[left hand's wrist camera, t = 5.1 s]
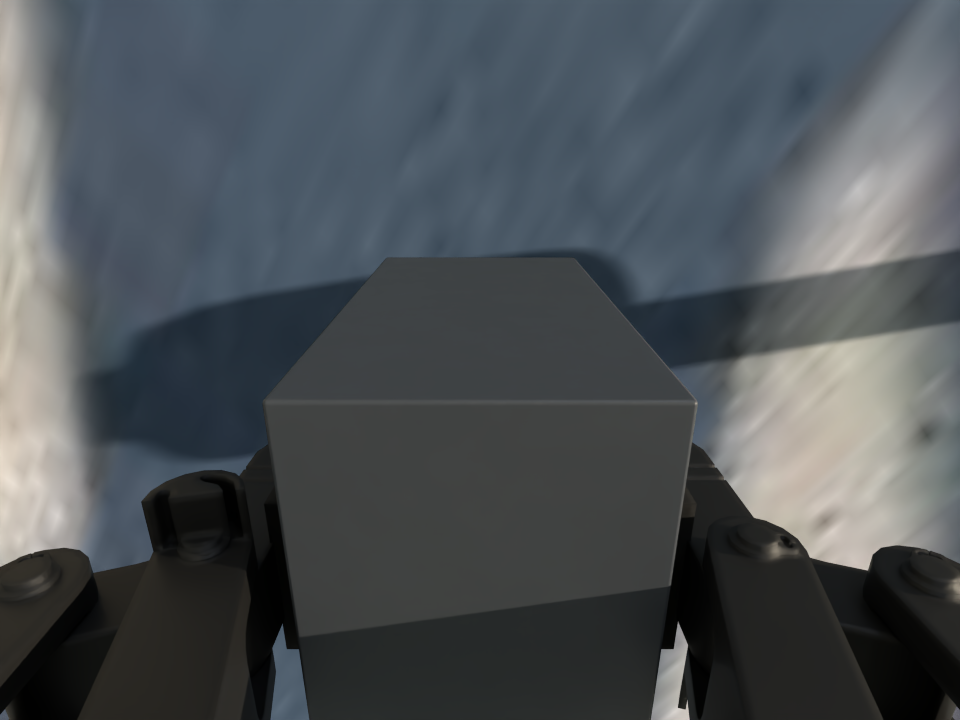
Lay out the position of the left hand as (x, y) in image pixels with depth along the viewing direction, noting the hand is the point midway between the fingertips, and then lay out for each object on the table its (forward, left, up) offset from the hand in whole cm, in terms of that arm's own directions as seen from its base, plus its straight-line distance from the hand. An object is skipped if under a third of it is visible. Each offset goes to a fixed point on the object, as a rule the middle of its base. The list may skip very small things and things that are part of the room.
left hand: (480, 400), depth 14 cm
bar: (+6, +4, -1) cm, 7 cm away
